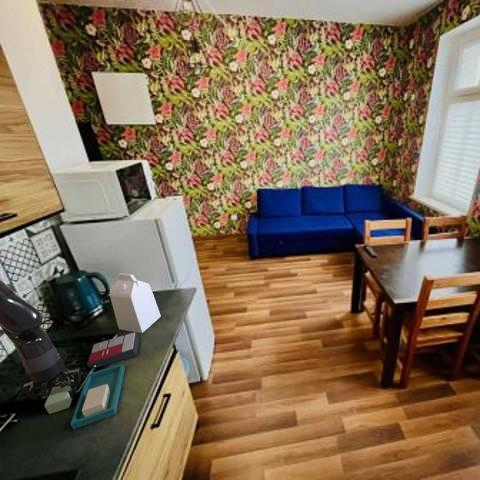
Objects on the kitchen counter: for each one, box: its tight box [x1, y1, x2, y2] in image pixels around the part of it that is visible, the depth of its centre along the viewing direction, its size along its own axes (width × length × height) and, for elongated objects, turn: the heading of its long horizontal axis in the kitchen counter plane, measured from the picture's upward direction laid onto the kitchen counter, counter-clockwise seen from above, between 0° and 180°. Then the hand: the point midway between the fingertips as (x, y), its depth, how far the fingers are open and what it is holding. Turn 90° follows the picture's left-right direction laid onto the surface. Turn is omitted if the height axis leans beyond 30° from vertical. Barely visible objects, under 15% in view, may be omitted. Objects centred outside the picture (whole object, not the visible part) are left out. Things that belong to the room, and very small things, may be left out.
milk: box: [109, 272, 162, 334], centre depth 119 cm, size 12×12×26 cm
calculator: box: [86, 332, 140, 370], centre depth 106 cm, size 11×4×15 cm
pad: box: [82, 384, 110, 417], centre depth 86 cm, size 5×8×4 cm, turn 27°
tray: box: [70, 363, 126, 430], centre depth 90 cm, size 11×20×2 cm, turn 27°
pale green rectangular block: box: [43, 379, 74, 415], centre depth 88 cm, size 5×8×4 cm, turn 27°
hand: (63, 399), depth 88 cm, fingers closed on pale green rectangular block, 5 cm apart
